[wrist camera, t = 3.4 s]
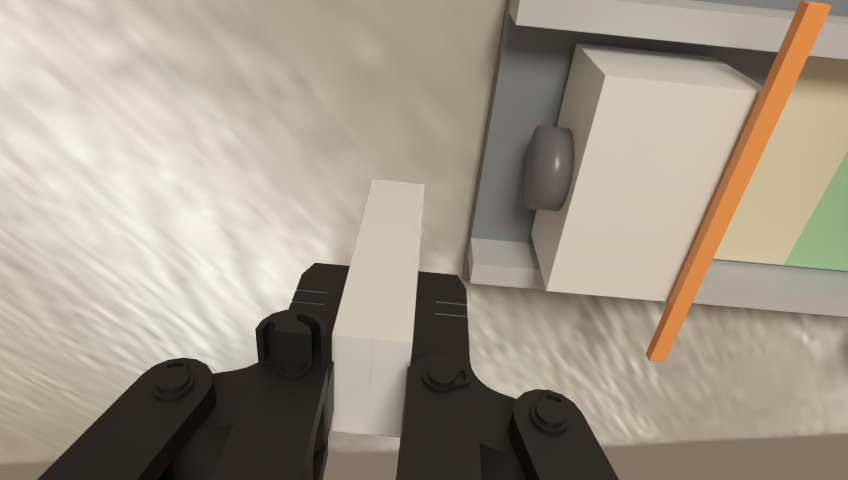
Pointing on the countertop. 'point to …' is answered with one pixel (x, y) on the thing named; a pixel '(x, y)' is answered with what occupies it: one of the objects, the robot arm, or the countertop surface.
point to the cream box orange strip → (652, 168)
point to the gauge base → (772, 178)
